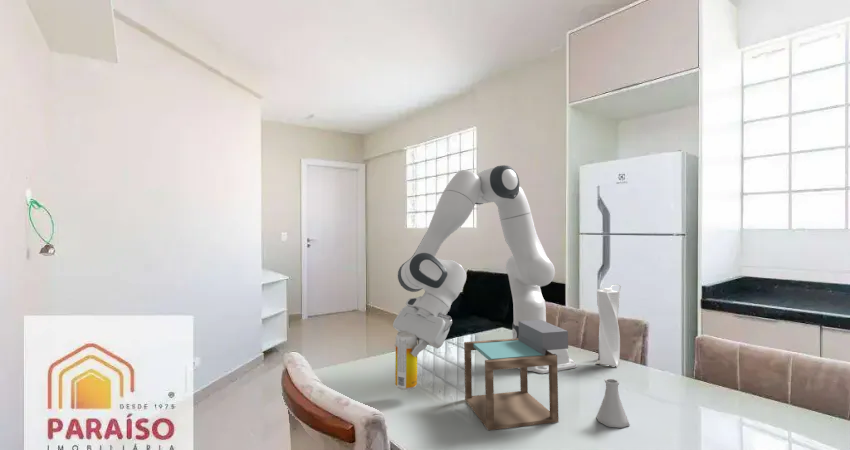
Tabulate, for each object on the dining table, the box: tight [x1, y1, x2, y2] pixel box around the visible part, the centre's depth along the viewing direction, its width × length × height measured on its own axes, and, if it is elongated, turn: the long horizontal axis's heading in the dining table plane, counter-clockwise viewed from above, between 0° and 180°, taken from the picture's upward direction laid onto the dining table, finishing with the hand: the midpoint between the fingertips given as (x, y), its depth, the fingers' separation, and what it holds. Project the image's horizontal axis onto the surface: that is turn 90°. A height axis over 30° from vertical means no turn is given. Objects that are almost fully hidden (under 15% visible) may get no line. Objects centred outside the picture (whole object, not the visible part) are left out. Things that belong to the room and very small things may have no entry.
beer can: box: [394, 331, 418, 391], centre depth 113 cm, size 6×6×15 cm
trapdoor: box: [473, 320, 569, 360], centre depth 107 cm, size 20×14×6 cm
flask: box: [596, 378, 631, 429], centre depth 99 cm, size 7×7×10 cm
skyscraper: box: [595, 283, 622, 367], centre depth 142 cm, size 8×8×28 cm
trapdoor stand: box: [463, 338, 559, 431], centre depth 107 cm, size 18×18×16 cm
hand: (404, 351), depth 113 cm, fingers closed on beer can, 6 cm apart
